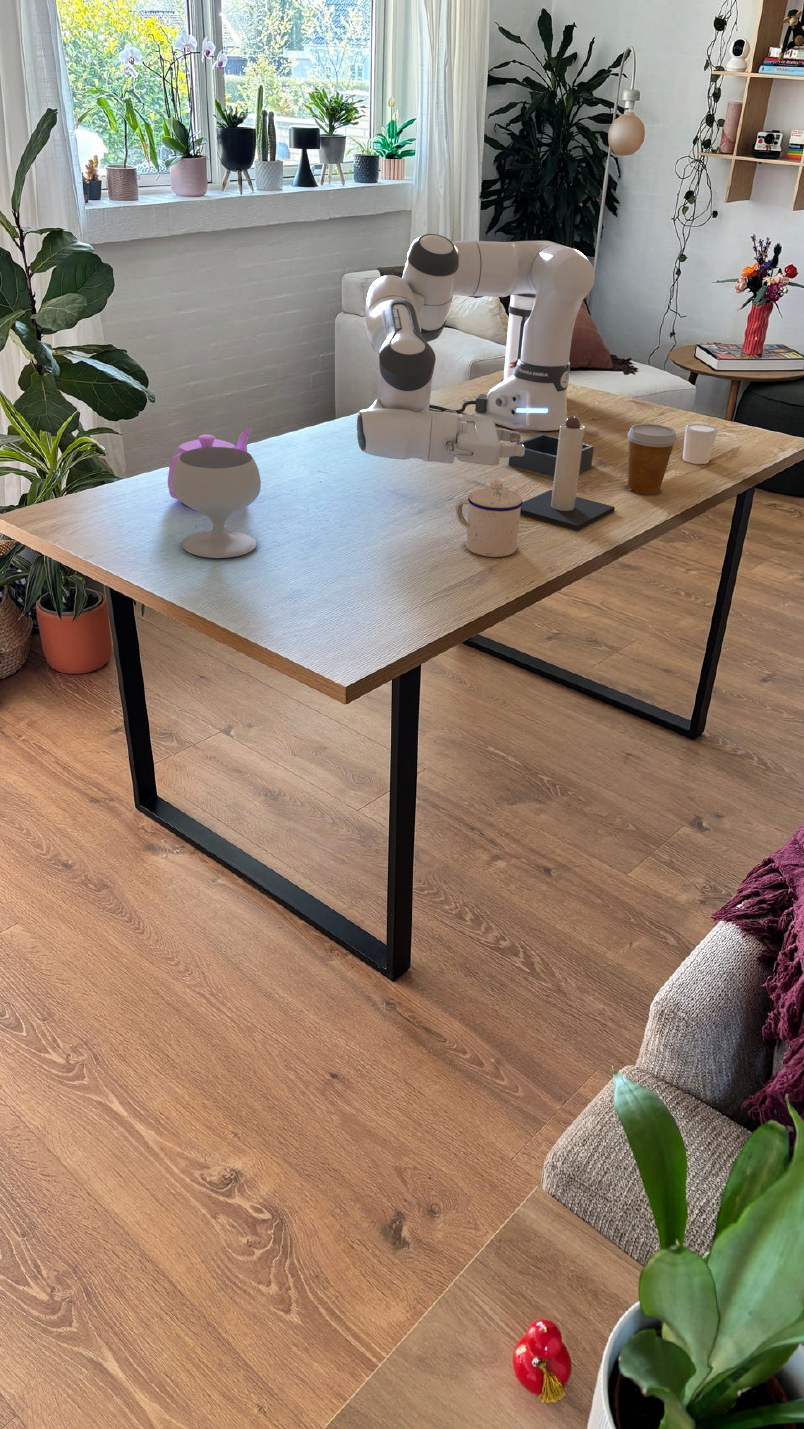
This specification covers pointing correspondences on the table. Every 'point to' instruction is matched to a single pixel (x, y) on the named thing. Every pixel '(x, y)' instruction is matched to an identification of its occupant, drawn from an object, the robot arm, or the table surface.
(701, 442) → the white cup
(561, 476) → the pepper mill
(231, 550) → the chalice
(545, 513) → the mat
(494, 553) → the teacup with lid
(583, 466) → the basket
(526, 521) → the table surface
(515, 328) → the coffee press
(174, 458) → the teapot
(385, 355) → the robot arm
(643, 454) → the disposable coffee cup
